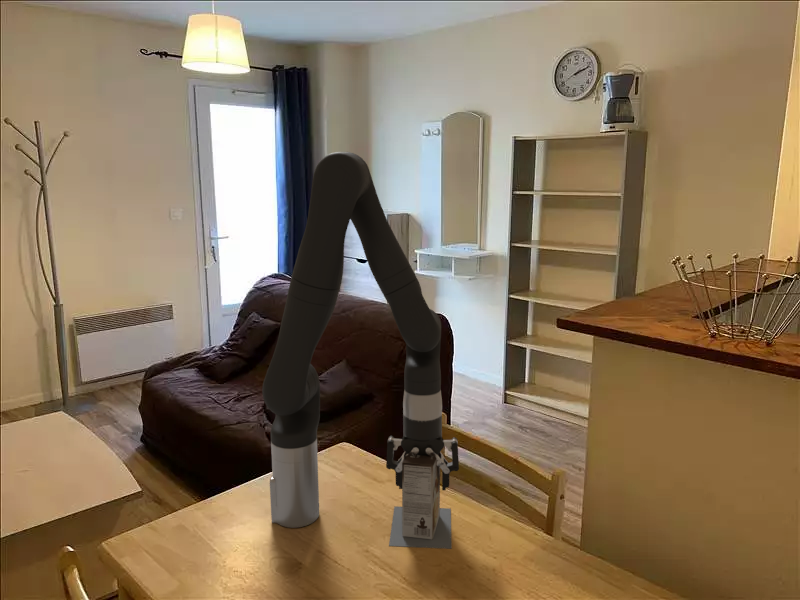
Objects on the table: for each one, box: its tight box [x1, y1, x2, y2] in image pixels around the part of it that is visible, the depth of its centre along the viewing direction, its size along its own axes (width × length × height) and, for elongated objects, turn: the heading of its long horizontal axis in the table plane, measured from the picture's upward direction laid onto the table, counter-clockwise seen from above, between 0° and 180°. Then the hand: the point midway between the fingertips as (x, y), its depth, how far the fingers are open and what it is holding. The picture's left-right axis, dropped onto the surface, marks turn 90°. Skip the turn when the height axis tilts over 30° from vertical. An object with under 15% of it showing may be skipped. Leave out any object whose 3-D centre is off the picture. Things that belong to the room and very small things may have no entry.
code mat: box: [388, 505, 453, 550], centre depth 124 cm, size 12×14×1 cm
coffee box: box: [401, 453, 441, 540], centre depth 123 cm, size 9×6×16 cm
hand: (422, 487), depth 122 cm, fingers open, 8 cm apart
